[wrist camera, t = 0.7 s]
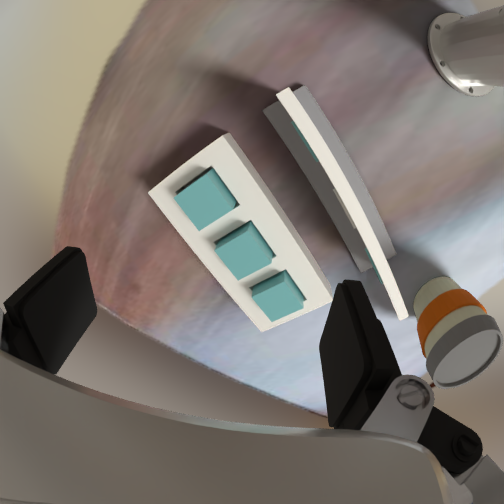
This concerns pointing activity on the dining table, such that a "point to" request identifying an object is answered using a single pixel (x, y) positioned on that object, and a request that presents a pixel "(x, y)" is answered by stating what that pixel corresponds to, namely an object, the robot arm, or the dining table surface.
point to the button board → (246, 208)
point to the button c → (278, 296)
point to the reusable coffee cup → (454, 333)
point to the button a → (206, 199)
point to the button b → (244, 250)
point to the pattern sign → (336, 184)
